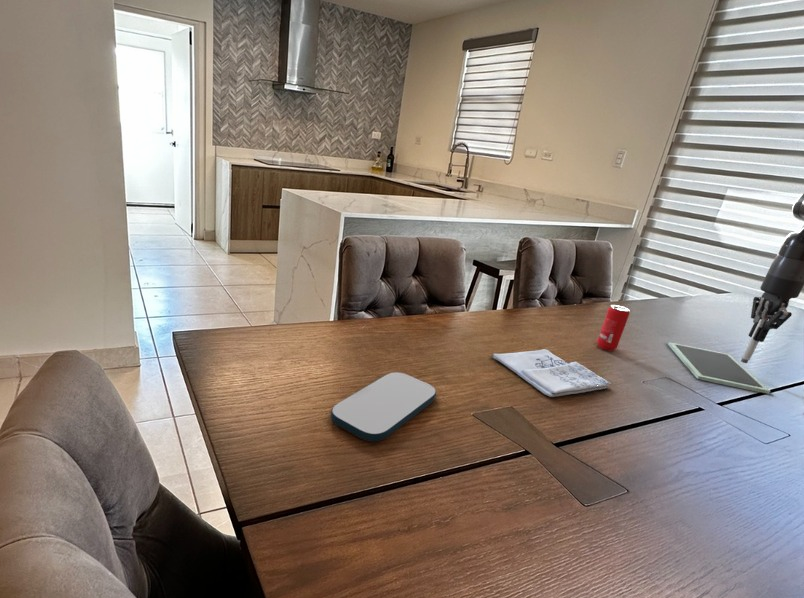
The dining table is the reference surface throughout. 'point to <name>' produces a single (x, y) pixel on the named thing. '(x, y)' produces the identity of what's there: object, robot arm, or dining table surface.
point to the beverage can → (613, 327)
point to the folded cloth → (552, 373)
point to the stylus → (750, 347)
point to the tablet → (717, 368)
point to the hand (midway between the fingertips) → (755, 338)
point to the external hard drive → (383, 406)
